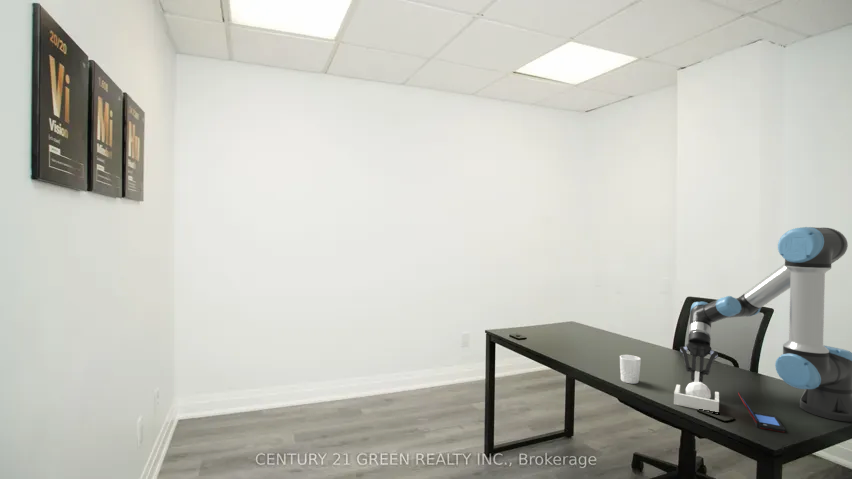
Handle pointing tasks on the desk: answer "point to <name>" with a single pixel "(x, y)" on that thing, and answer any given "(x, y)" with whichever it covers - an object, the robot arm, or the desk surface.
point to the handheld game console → (764, 419)
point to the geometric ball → (698, 390)
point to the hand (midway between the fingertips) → (696, 388)
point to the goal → (696, 401)
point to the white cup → (630, 368)
